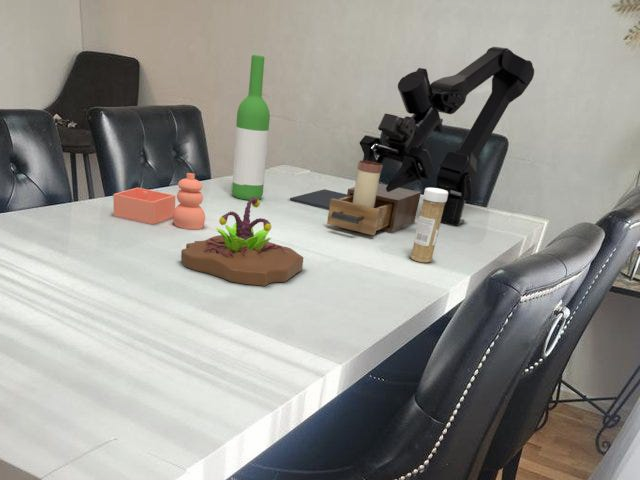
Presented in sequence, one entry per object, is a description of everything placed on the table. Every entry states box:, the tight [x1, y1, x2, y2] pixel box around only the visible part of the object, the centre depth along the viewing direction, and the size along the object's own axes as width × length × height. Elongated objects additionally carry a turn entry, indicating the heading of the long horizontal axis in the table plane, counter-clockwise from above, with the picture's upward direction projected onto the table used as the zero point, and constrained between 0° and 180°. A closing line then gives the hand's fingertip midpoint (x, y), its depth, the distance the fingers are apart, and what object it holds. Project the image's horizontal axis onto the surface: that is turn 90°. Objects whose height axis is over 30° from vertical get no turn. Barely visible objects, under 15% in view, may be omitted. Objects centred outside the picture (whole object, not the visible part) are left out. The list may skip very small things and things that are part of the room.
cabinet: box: [346, 182, 422, 234], centre depth 155 cm, size 16×13×7 cm
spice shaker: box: [352, 160, 383, 208], centre depth 143 cm, size 5×5×12 cm
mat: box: [289, 188, 347, 211], centre depth 169 cm, size 20×20×1 cm
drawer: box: [326, 195, 394, 236], centre depth 145 cm, size 19×11×5 cm, turn 150°
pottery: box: [112, 172, 206, 230], centre depth 132 cm, size 18×10×10 cm, turn 70°
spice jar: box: [410, 187, 448, 264], centre depth 128 cm, size 5×5×14 cm
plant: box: [180, 197, 304, 287], centre depth 112 cm, size 20×20×11 cm
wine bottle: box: [231, 54, 271, 201], centre depth 154 cm, size 8×8×30 cm
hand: (371, 185), depth 143 cm, fingers open, 9 cm apart
